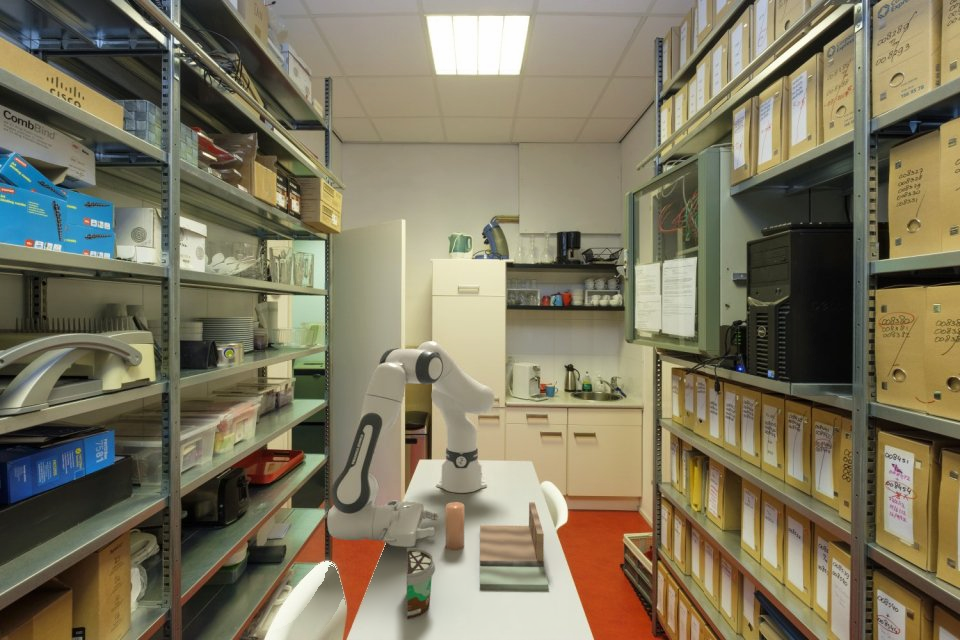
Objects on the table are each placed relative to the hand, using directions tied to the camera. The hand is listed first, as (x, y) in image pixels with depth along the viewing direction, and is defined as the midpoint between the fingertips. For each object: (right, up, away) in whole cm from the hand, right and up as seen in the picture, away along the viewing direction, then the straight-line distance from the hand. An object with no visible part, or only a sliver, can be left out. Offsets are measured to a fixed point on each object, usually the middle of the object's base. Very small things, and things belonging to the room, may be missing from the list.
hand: (436, 523), depth 131 cm
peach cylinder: (+5, -6, 0) cm, 8 cm away
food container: (-1, -6, -27) cm, 28 cm away
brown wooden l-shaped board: (+20, -6, -7) cm, 22 cm away
